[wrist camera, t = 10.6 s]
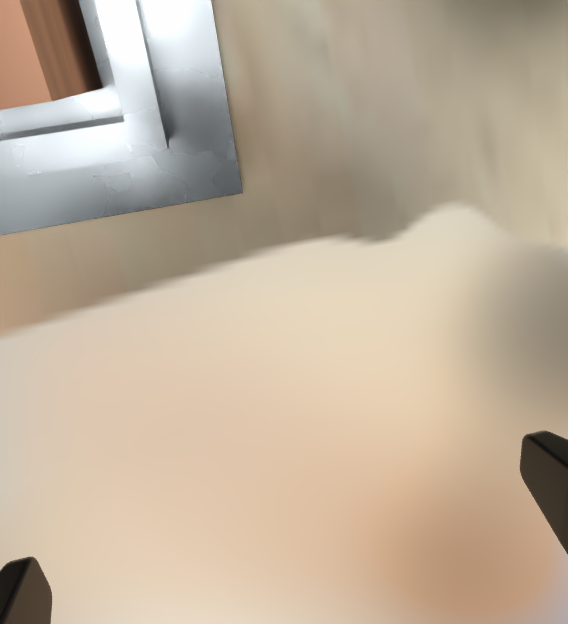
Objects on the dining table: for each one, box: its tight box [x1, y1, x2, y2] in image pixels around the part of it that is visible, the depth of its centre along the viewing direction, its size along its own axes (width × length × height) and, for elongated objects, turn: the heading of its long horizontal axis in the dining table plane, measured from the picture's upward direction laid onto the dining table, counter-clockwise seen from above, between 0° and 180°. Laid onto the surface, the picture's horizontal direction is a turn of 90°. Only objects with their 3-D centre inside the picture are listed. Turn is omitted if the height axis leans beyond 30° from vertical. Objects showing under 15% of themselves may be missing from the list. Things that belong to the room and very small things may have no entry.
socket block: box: [0, 0, 243, 235], centre depth 15 cm, size 12×12×4 cm
